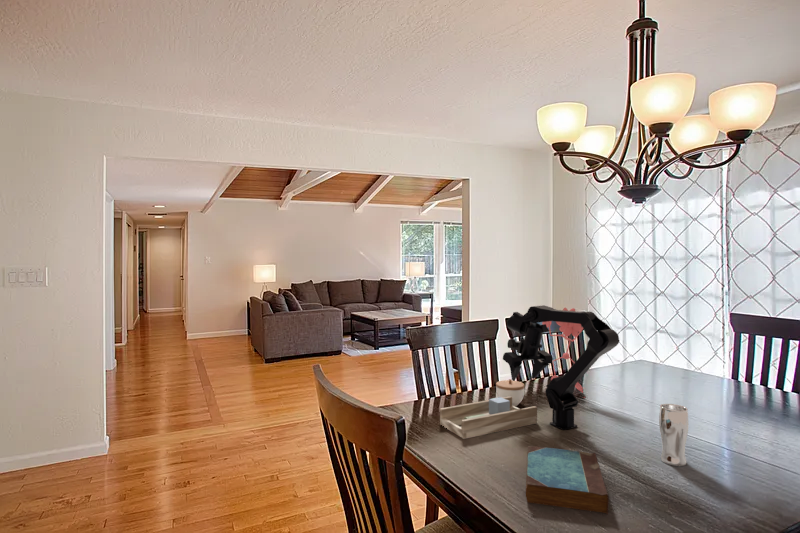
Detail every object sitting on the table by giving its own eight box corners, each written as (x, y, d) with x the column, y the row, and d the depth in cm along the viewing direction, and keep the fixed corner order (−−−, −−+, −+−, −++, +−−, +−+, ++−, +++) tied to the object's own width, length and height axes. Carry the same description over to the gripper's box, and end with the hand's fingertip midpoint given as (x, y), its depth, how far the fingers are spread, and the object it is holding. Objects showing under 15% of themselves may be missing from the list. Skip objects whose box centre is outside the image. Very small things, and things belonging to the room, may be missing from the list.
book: (608, 516, 103) (608, 494, 103) (525, 505, 108) (525, 483, 108) (595, 471, 125) (596, 452, 125) (527, 463, 130) (527, 445, 129)
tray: (537, 423, 159) (537, 407, 159) (463, 438, 146) (463, 421, 146) (509, 411, 172) (509, 396, 172) (440, 424, 159) (439, 408, 158)
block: (509, 415, 160) (509, 401, 160) (498, 417, 158) (498, 403, 158) (500, 411, 164) (500, 397, 164) (488, 413, 162) (488, 399, 162)
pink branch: (588, 400, 184) (589, 311, 184) (534, 386, 205) (535, 306, 205) (609, 394, 194) (610, 309, 194) (554, 381, 214) (555, 304, 214)
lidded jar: (522, 399, 186) (522, 376, 186) (526, 408, 175) (526, 383, 175) (494, 399, 187) (494, 375, 187) (497, 407, 176) (497, 382, 176)
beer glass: (661, 454, 134) (661, 401, 134) (690, 460, 130) (690, 406, 129) (656, 462, 129) (656, 407, 128) (686, 469, 124) (686, 413, 124)
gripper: (537, 330, 178) (528, 367, 181) (497, 331, 169) (489, 370, 173) (558, 342, 168) (548, 381, 172) (517, 344, 160) (508, 385, 163)
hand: (523, 379), depth 170 cm, fingers open, 9 cm apart
